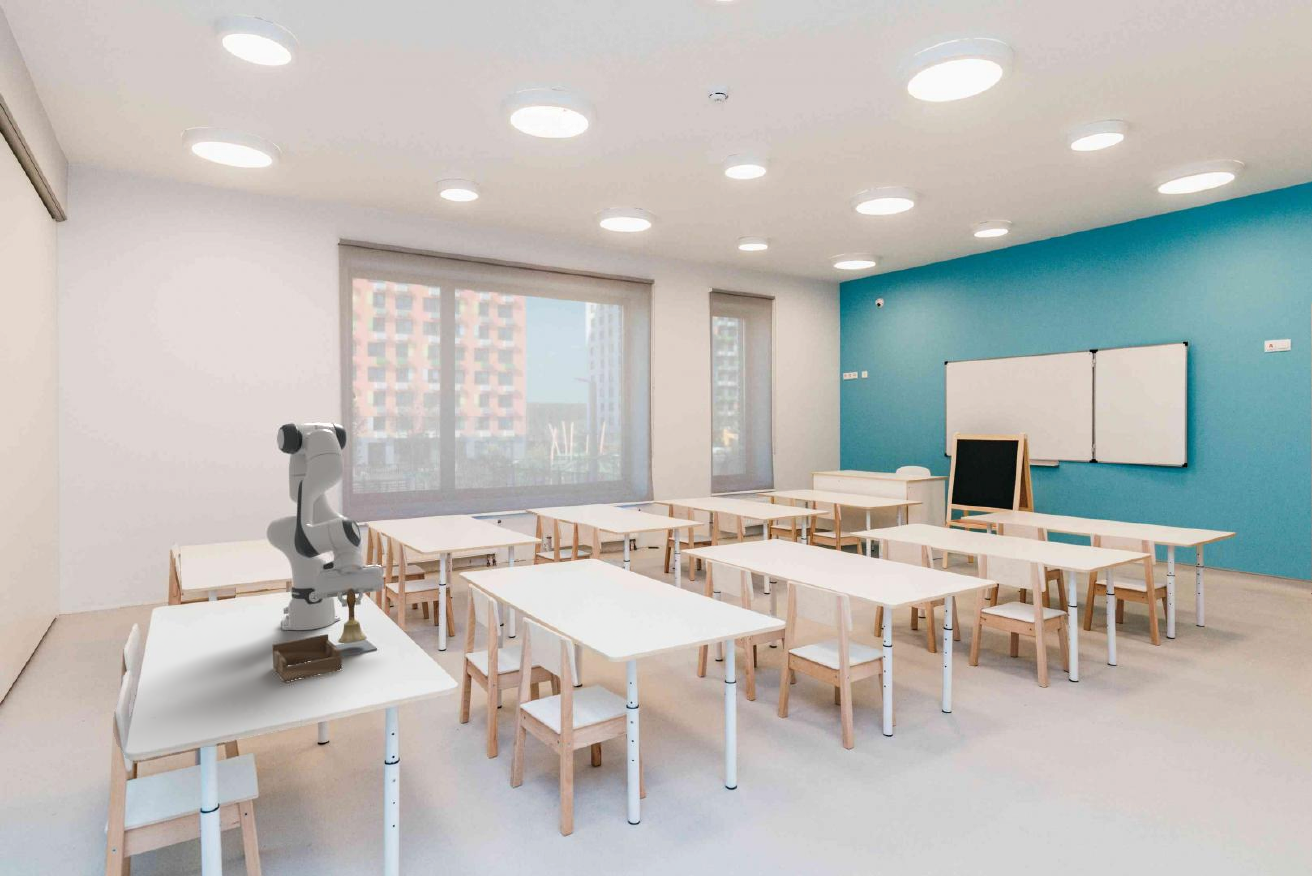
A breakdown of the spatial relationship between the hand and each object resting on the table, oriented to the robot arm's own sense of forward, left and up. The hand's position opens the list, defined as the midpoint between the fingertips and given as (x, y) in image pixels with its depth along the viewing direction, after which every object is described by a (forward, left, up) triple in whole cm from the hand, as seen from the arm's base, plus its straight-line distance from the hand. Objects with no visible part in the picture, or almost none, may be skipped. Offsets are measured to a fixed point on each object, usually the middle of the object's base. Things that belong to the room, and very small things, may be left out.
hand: (351, 604), depth 222 cm
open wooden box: (+9, -15, -14) cm, 23 cm away
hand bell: (0, 0, -11) cm, 11 cm away
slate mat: (-1, 0, -14) cm, 14 cm away
